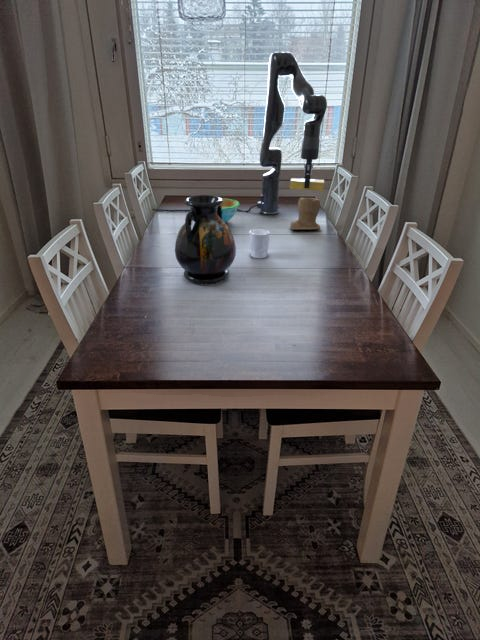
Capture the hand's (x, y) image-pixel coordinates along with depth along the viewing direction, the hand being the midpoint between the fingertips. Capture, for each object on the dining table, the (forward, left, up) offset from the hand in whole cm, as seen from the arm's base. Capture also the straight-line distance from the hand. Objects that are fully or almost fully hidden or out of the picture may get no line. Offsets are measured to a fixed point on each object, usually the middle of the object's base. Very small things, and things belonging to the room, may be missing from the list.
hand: (306, 186), depth 187 cm
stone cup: (0, +4, -21) cm, 22 cm away
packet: (0, 0, -1) cm, 1 cm away
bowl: (-44, +6, -21) cm, 49 cm away
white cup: (-17, -37, -21) cm, 46 cm away
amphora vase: (-33, -62, -21) cm, 73 cm away
